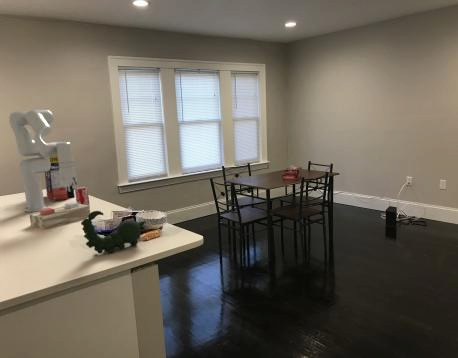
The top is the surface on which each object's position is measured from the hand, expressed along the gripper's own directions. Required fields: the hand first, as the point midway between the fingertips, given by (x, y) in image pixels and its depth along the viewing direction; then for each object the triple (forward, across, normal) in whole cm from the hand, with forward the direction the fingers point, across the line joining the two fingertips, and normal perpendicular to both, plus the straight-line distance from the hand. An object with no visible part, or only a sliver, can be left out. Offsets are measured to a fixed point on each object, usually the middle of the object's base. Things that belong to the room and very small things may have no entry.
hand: (71, 198), depth 202 cm
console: (+11, 0, -7) cm, 13 cm away
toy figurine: (+12, +64, -21) cm, 69 cm away
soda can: (+11, -14, +15) cm, 23 cm away
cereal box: (+10, -61, +26) cm, 67 cm away
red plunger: (+7, 0, -14) cm, 16 cm away
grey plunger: (+7, 0, 0) cm, 7 cm away
